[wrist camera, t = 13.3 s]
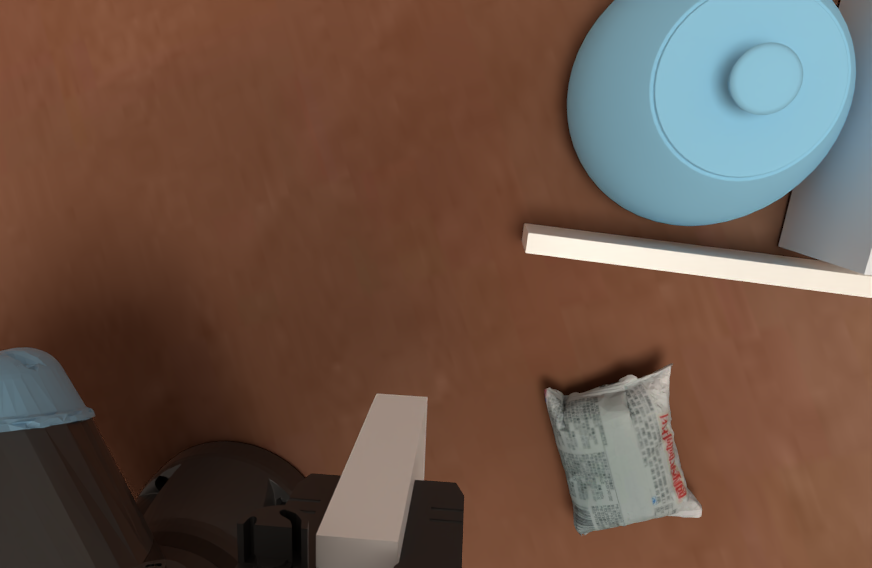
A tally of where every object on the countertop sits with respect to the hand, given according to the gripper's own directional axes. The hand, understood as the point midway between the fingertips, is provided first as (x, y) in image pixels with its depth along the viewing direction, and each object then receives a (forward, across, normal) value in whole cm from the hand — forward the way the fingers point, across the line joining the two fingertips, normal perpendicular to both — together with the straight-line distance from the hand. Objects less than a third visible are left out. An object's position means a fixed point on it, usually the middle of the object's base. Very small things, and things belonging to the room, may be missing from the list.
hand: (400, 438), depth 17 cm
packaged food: (+24, +13, -11) cm, 30 cm away
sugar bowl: (+24, +15, +12) cm, 31 cm away
